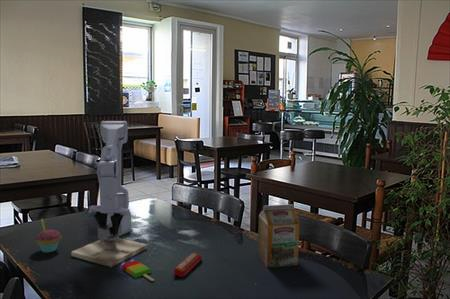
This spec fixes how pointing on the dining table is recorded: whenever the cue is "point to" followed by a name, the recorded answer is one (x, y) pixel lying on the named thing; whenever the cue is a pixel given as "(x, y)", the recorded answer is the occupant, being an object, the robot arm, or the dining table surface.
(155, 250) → the dining table surface
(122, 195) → the robot arm
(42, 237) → the cupcake
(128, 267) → the popsicle
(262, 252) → the milk carton
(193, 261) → the candy bar
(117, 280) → the dining table surface
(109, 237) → the grey block
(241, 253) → the dining table surface
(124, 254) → the post base
